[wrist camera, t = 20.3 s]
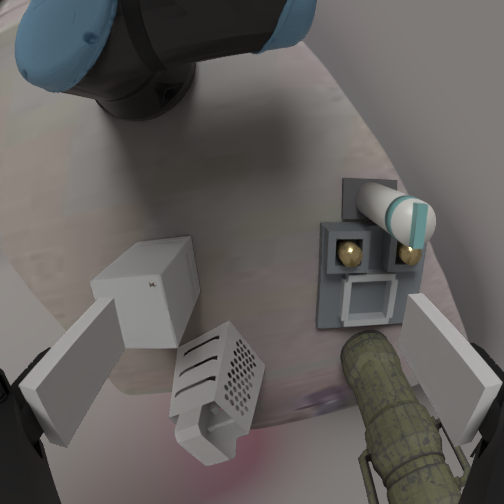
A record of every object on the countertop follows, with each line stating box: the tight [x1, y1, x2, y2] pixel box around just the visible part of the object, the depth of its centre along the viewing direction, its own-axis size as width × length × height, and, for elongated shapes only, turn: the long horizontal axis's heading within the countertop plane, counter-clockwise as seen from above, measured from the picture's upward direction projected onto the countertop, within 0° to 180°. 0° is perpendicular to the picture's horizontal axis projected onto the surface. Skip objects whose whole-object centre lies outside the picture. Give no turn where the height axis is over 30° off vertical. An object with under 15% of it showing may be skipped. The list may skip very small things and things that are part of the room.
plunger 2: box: [396, 241, 422, 266], centre depth 40 cm, size 3×3×4 cm
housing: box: [316, 223, 426, 329], centre depth 44 cm, size 16×16×5 cm
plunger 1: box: [336, 239, 363, 267], centre depth 41 cm, size 3×3×4 cm
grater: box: [169, 320, 265, 466], centre depth 42 cm, size 10×10×20 cm
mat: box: [342, 178, 397, 219], centre depth 43 cm, size 6×8×1 cm
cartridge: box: [355, 182, 436, 249], centre depth 35 cm, size 5×5×15 cm
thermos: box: [341, 330, 471, 504], centre depth 34 cm, size 9×12×35 cm
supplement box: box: [90, 236, 201, 348], centre depth 40 cm, size 9×9×15 cm
